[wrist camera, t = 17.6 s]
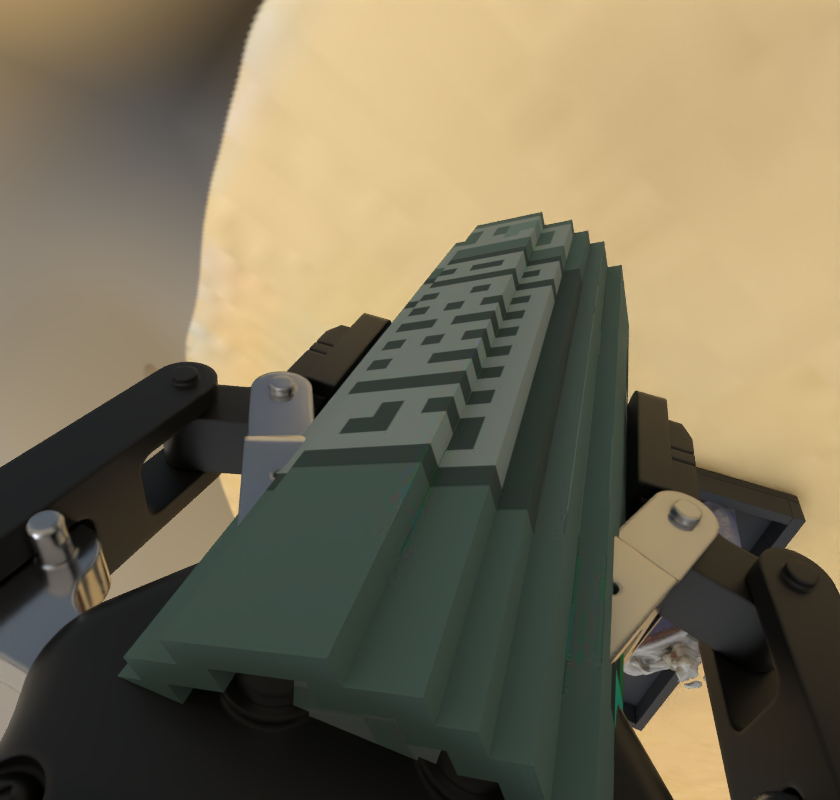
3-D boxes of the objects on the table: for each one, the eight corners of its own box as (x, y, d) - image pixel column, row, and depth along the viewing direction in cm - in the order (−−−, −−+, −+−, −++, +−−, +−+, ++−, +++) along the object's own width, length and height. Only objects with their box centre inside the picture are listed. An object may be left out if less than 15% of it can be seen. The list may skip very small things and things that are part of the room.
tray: (797, 496, 35) (806, 521, 33) (640, 706, 51) (641, 731, 49) (603, 440, 37) (601, 460, 35) (509, 659, 52) (505, 681, 51)
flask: (715, 486, 36) (743, 634, 27) (748, 514, 36) (786, 667, 28) (604, 549, 41) (599, 688, 33) (634, 573, 42) (636, 716, 33)
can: (462, 397, 21) (246, 869, 9) (417, 238, 19) (31, 624, 7) (635, 381, 19) (638, 989, 7) (613, 196, 16) (557, 685, 4)
